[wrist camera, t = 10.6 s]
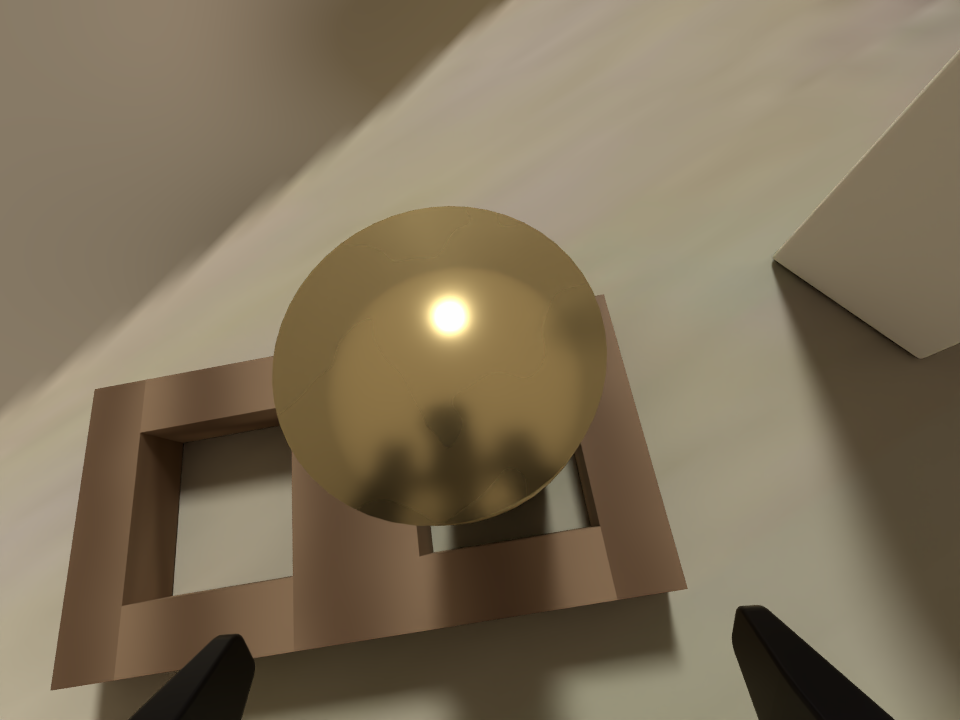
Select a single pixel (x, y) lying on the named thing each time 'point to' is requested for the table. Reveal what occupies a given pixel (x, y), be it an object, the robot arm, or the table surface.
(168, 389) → the template plate
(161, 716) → the robot arm
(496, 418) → the brass bolt
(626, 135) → the table surface
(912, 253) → the milk carton
